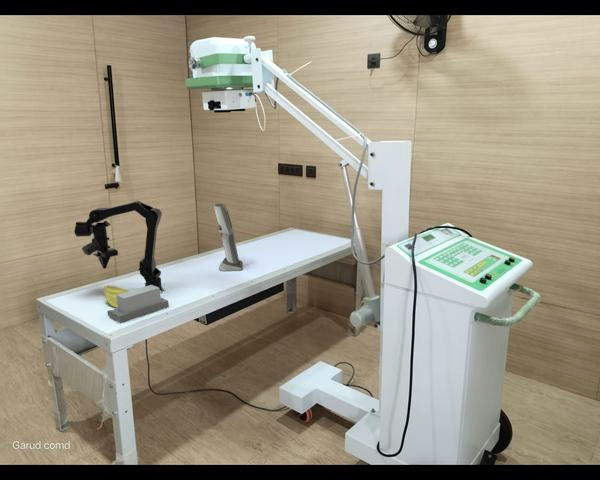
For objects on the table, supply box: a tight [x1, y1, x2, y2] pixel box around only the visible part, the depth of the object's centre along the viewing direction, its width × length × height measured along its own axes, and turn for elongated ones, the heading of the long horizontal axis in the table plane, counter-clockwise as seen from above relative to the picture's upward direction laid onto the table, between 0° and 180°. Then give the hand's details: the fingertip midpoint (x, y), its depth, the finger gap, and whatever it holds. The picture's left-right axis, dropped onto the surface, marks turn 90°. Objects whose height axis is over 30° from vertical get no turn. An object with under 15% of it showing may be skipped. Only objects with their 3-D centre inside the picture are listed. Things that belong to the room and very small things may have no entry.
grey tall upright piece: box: [213, 203, 244, 272], centre depth 255 cm, size 12×13×35 cm
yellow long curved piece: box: [103, 284, 130, 309], centre depth 211 cm, size 20×7×10 cm
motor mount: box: [106, 285, 170, 324], centre depth 200 cm, size 22×12×9 cm, turn 137°
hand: (104, 268), depth 223 cm, fingers closed
